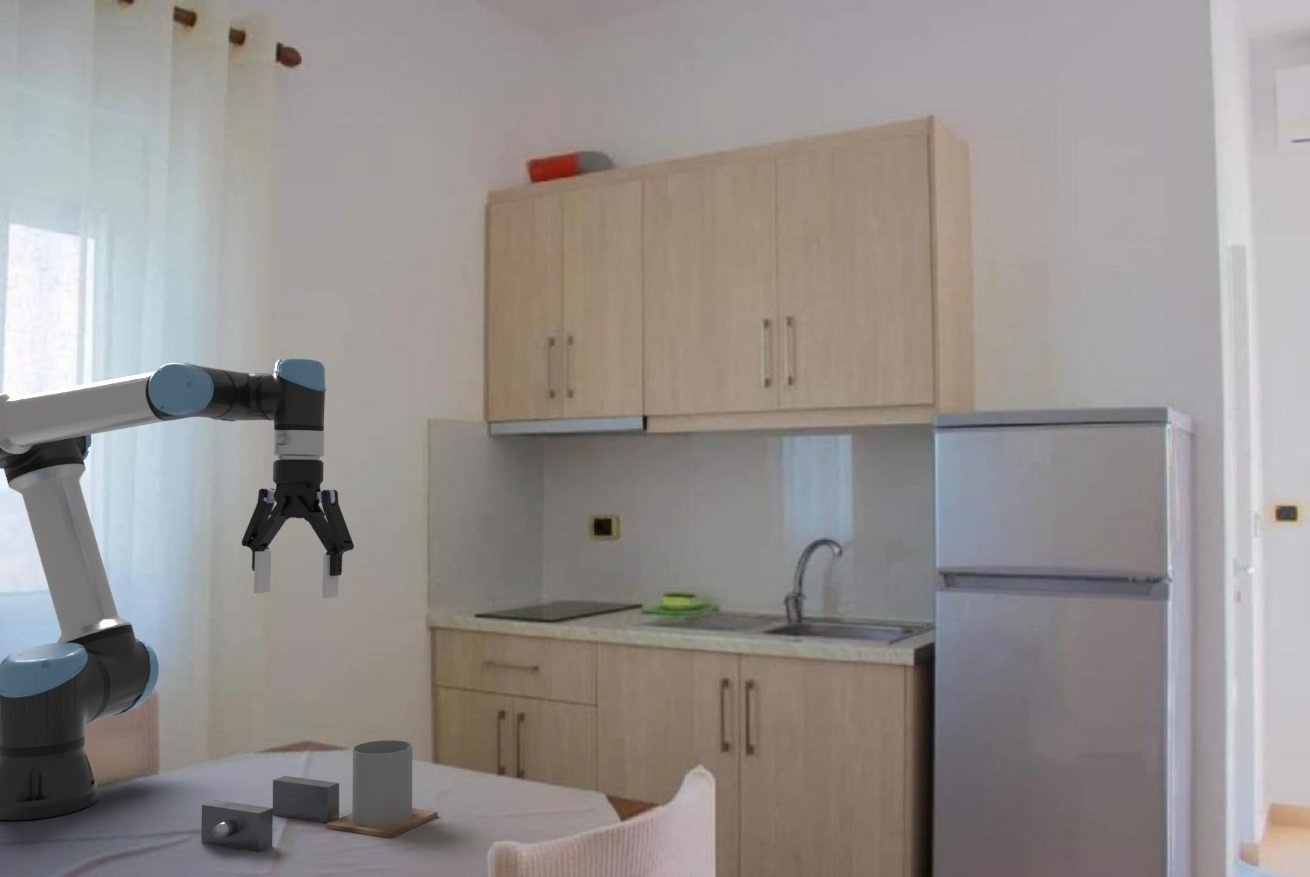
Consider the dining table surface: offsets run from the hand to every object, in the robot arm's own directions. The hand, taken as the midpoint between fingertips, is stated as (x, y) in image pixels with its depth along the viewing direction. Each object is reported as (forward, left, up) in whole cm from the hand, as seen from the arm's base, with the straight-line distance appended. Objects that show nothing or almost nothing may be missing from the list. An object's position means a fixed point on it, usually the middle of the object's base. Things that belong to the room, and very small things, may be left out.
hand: (295, 595), depth 175 cm
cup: (+21, -6, -30) cm, 37 cm away
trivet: (+21, -6, -31) cm, 38 cm away
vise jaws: (+9, -15, -31) cm, 35 cm away
